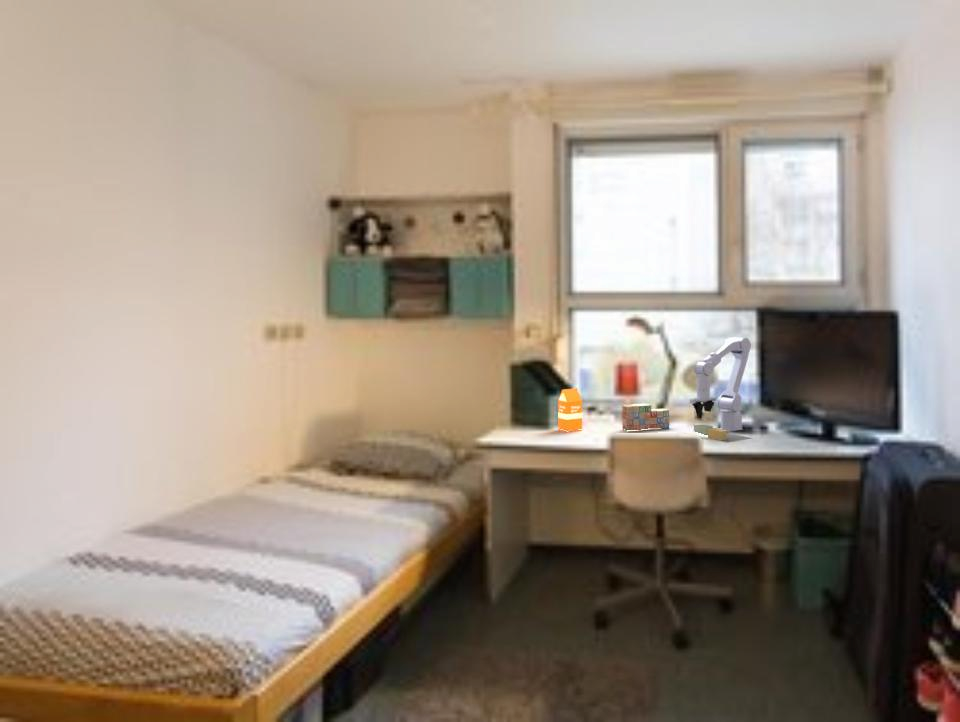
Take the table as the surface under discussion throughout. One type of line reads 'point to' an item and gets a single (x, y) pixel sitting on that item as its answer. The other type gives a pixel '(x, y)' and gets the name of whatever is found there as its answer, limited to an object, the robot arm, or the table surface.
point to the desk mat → (733, 438)
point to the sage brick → (702, 428)
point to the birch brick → (704, 416)
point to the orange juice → (570, 410)
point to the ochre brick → (717, 434)
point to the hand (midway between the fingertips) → (703, 417)
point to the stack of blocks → (644, 417)
